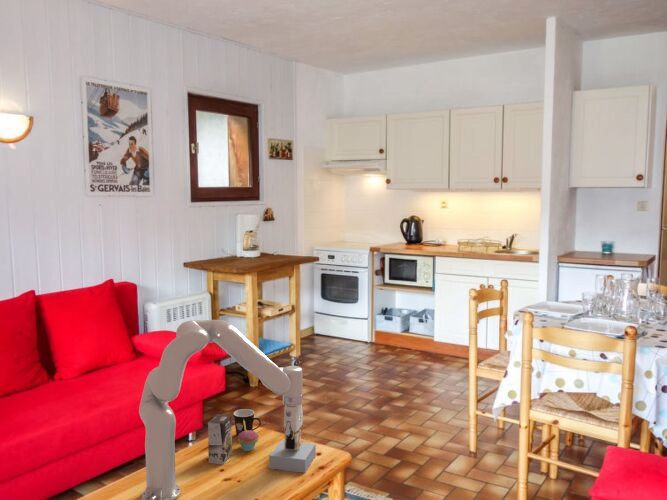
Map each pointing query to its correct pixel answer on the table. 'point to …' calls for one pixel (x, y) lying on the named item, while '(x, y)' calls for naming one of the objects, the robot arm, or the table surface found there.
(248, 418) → the coffee mug
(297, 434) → the birch block
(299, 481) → the table surface
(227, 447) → the coffee box
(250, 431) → the cupcake
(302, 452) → the grey block
